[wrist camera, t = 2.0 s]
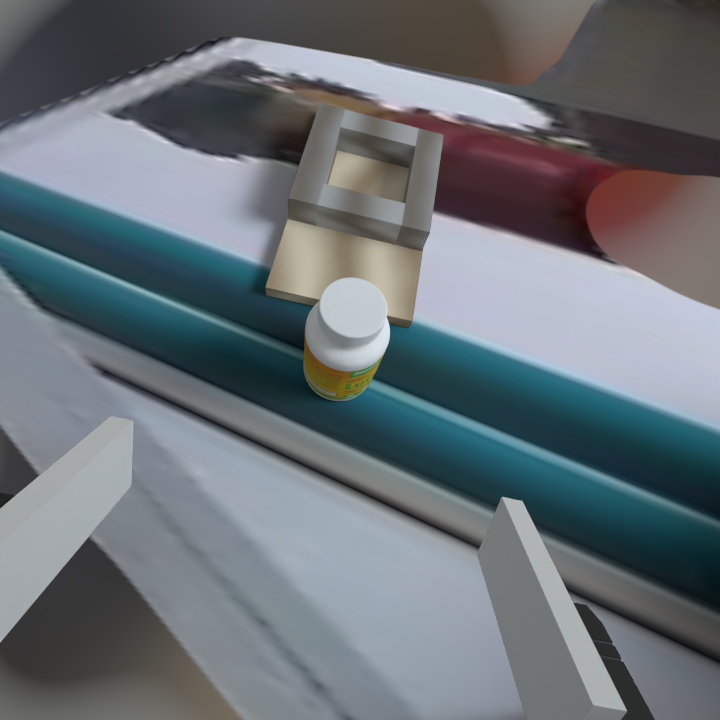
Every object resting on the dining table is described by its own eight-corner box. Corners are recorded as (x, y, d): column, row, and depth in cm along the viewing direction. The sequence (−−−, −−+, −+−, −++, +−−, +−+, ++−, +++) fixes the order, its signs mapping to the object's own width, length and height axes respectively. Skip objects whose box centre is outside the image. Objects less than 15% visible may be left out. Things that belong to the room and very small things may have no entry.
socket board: (435, 146, 44) (447, 113, 41) (408, 328, 35) (420, 305, 32) (323, 117, 43) (325, 81, 40) (266, 295, 34) (263, 268, 31)
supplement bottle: (344, 417, 31) (363, 368, 22) (288, 373, 32) (285, 309, 23) (385, 365, 33) (418, 302, 25) (332, 325, 34) (345, 251, 25)
